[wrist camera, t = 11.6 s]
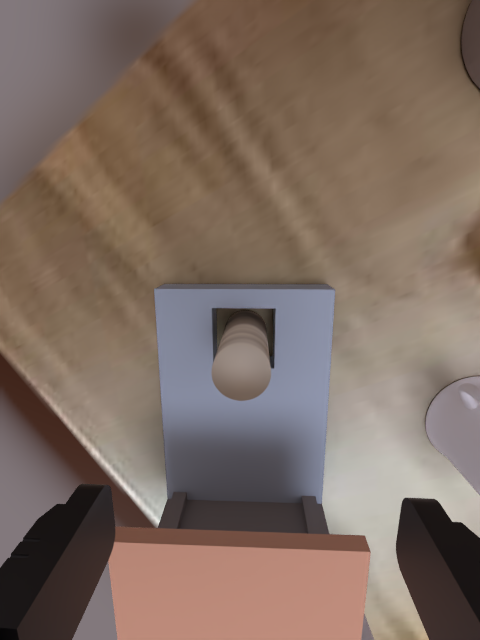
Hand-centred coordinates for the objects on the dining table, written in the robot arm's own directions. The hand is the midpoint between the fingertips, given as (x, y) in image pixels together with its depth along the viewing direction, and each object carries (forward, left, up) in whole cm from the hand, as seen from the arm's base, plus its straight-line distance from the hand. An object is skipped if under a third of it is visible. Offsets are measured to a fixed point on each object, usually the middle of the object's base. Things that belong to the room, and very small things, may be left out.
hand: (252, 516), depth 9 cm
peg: (+1, -1, -21) cm, 21 cm away
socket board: (+6, -1, -21) cm, 22 cm away
